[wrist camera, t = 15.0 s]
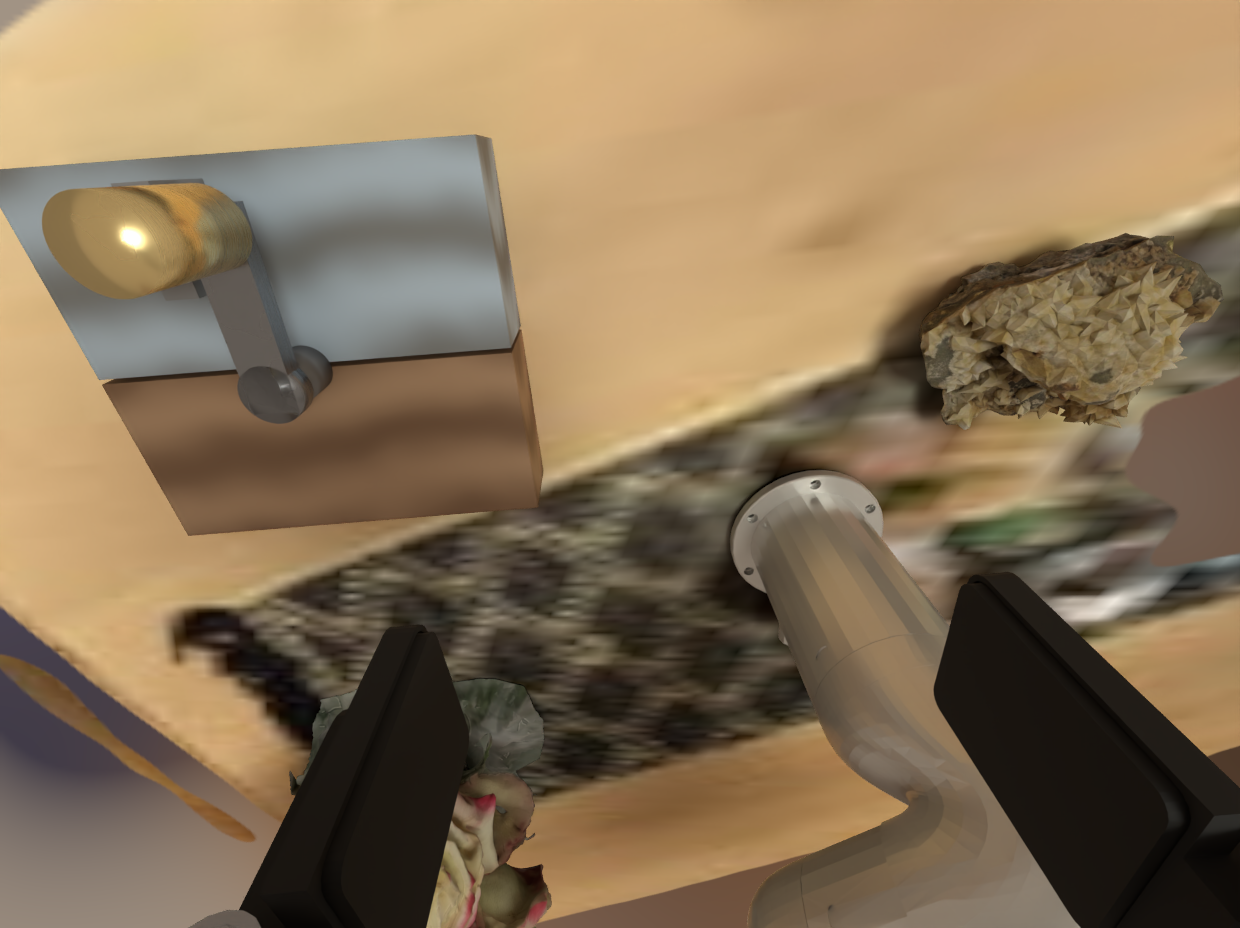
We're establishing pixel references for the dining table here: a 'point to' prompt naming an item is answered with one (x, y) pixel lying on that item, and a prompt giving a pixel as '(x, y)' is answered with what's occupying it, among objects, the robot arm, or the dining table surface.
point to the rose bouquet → (481, 810)
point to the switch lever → (185, 273)
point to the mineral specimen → (1065, 330)
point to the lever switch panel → (322, 337)
